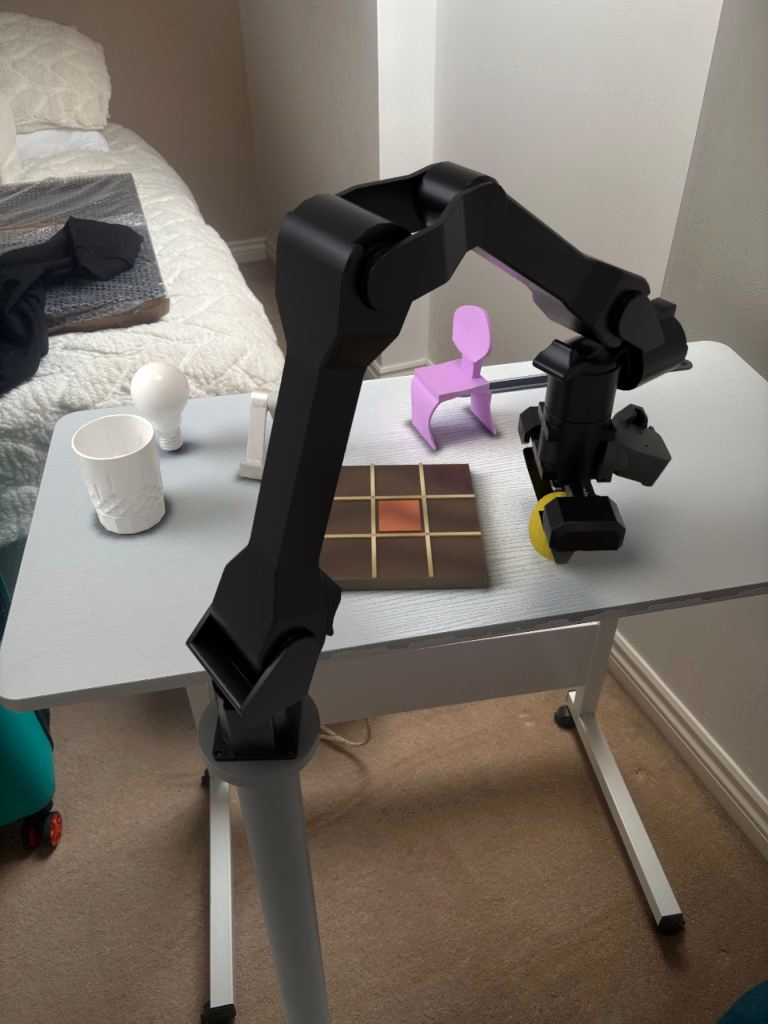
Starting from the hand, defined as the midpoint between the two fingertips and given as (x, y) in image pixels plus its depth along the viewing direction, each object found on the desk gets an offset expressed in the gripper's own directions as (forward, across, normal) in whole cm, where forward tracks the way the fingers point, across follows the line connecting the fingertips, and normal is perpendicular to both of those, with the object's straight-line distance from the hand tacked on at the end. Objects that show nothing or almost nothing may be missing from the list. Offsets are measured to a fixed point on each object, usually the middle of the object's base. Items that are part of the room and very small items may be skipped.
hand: (555, 542), depth 81 cm
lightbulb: (+2, +20, +41) cm, 46 cm away
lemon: (+2, 0, 0) cm, 2 cm away
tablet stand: (+2, +16, +27) cm, 32 cm away
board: (+2, +5, +15) cm, 16 cm away
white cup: (+2, +8, +43) cm, 44 cm away
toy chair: (+2, +23, +8) cm, 24 cm away
